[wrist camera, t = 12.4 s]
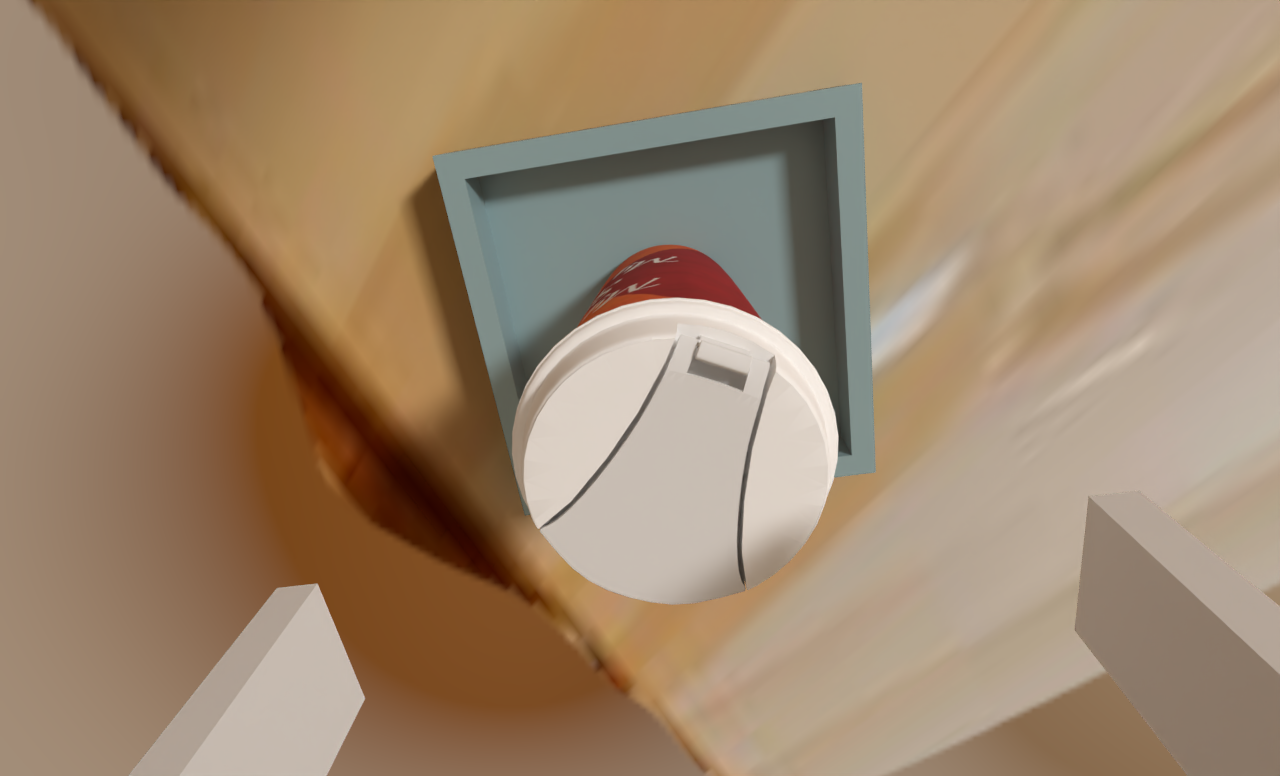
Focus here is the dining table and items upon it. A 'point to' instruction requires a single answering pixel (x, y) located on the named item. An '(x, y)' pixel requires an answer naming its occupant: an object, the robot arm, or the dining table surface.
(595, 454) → the coffee cup
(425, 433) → the dining table surface
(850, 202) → the tray
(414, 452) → the dining table surface
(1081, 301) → the dining table surface
